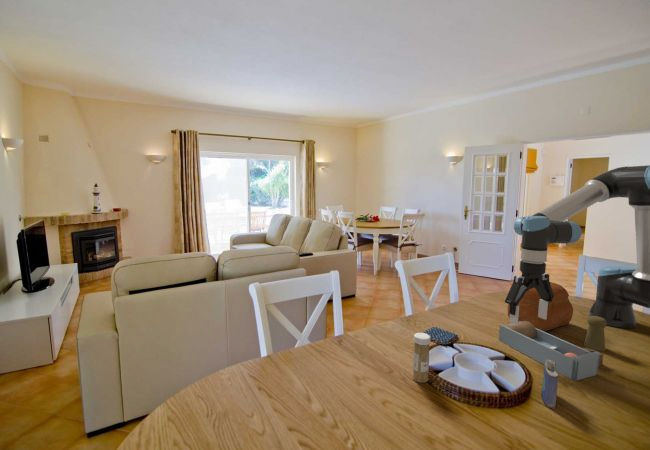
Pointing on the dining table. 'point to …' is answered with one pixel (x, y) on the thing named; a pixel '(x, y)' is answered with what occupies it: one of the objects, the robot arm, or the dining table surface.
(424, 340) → the sprinkles bottle
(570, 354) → the ball
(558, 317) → the bread
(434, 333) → the woven mat
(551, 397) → the flask
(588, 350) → the hollow square tube
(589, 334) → the cork
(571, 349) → the long open box
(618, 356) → the dining table surface
